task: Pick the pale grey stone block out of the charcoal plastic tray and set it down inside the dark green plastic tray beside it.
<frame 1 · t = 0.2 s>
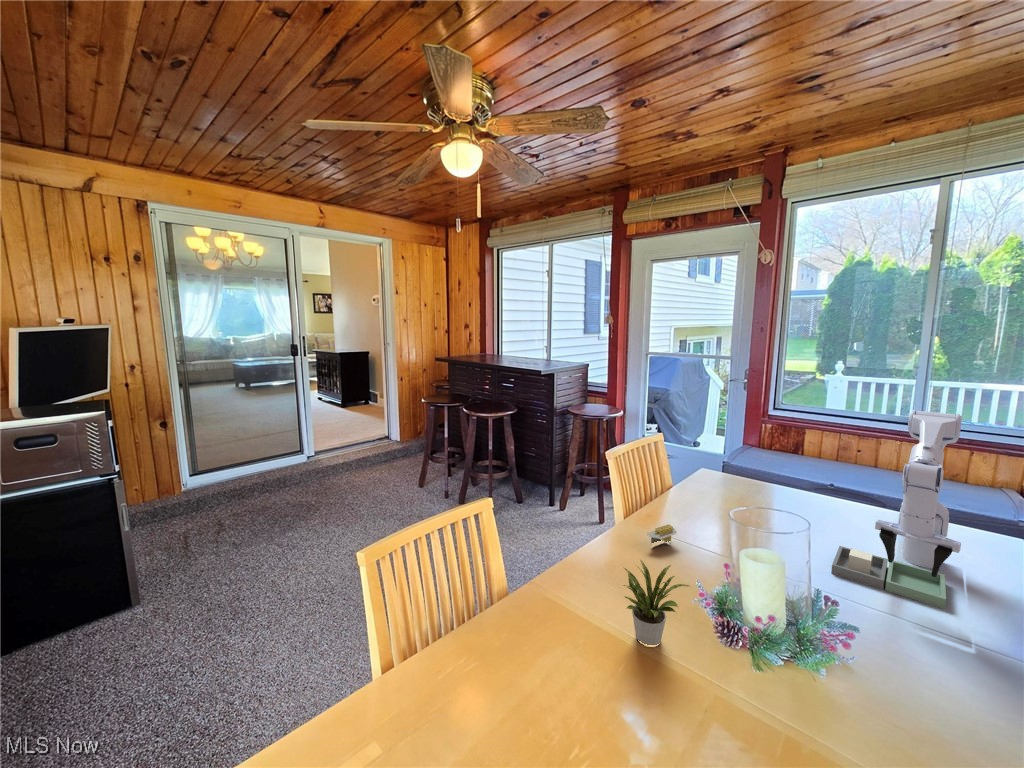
hand: (912, 567, 101), 10 cm above the table, tool pointing down, fingers open, 7 cm apart
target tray: (914, 589, 108), on the table
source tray: (859, 572, 116), on the table
platform: (662, 548, 132), on the table
house plant: (654, 639, 93), on the table
stone block: (859, 570, 116), point 1 cm above the table, touching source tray
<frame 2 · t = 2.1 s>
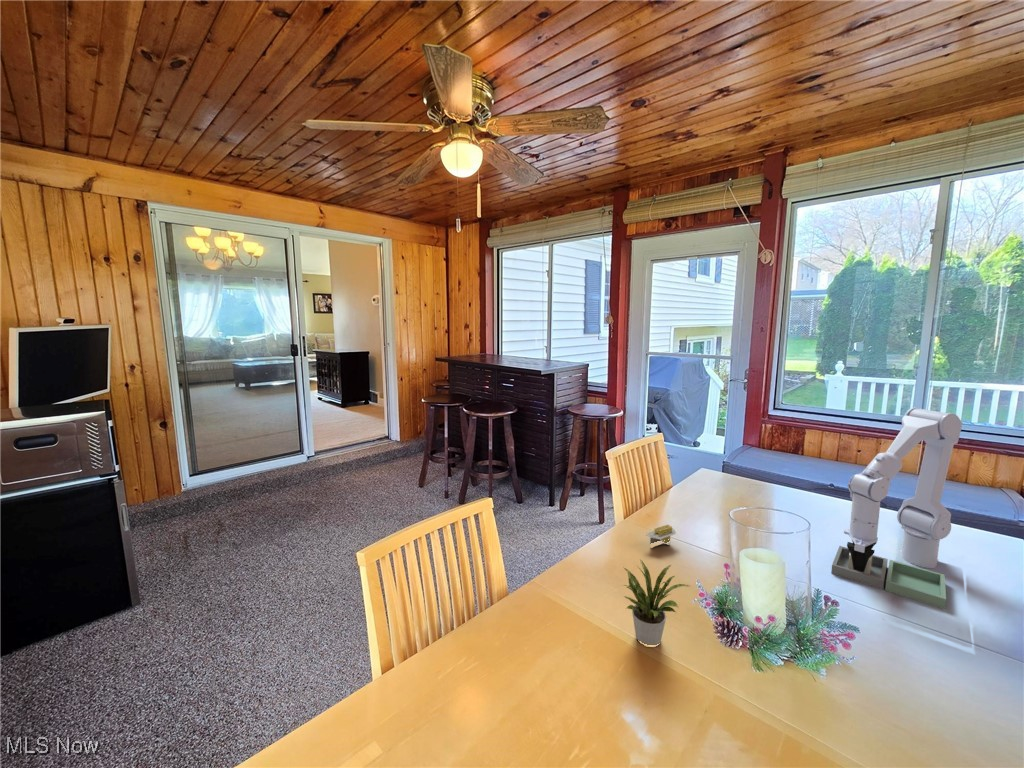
hand: (859, 566, 116), 2 cm above the table, tool pointing down, fingers closed on stone block, 5 cm apart
stone block: (859, 570, 116), point 1 cm above the table, touching gripper, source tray
everything else where it was.
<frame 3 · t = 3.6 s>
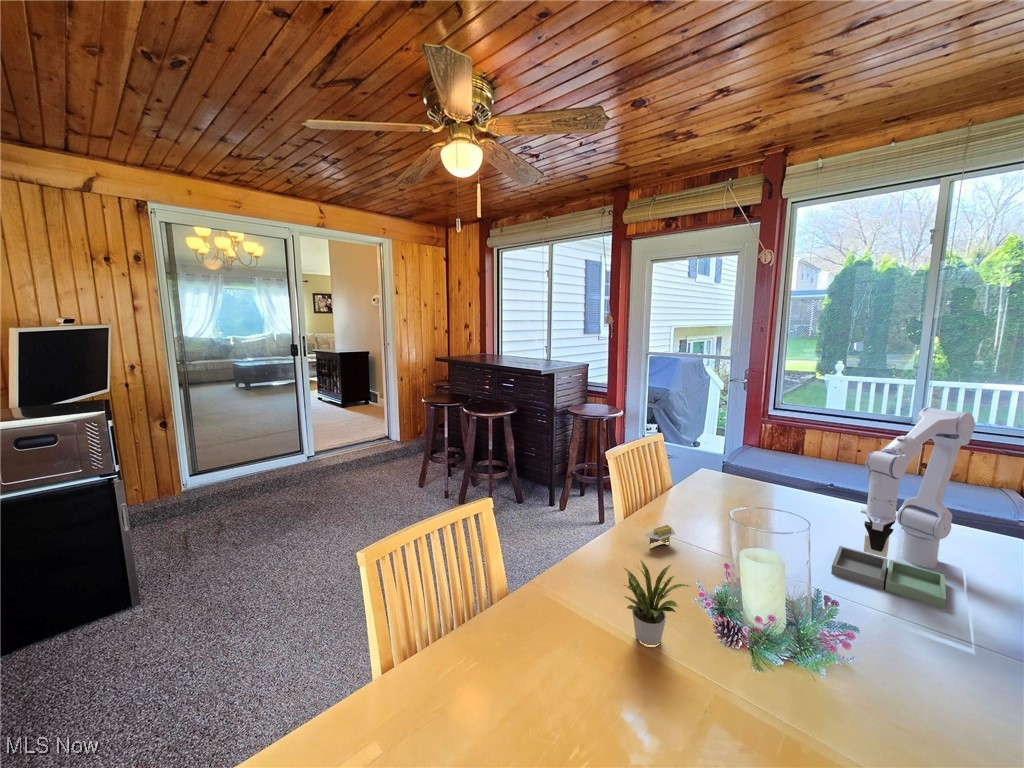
hand: (877, 546, 113), 9 cm above the table, tool pointing down, fingers closed on stone block, 5 cm apart
stone block: (875, 551, 113), point 7 cm above the table, touching gripper
everything else where it was.
when the fingers open (3 cm above the table, at t = 5.6 s): stone block stays where it is, resting on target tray.
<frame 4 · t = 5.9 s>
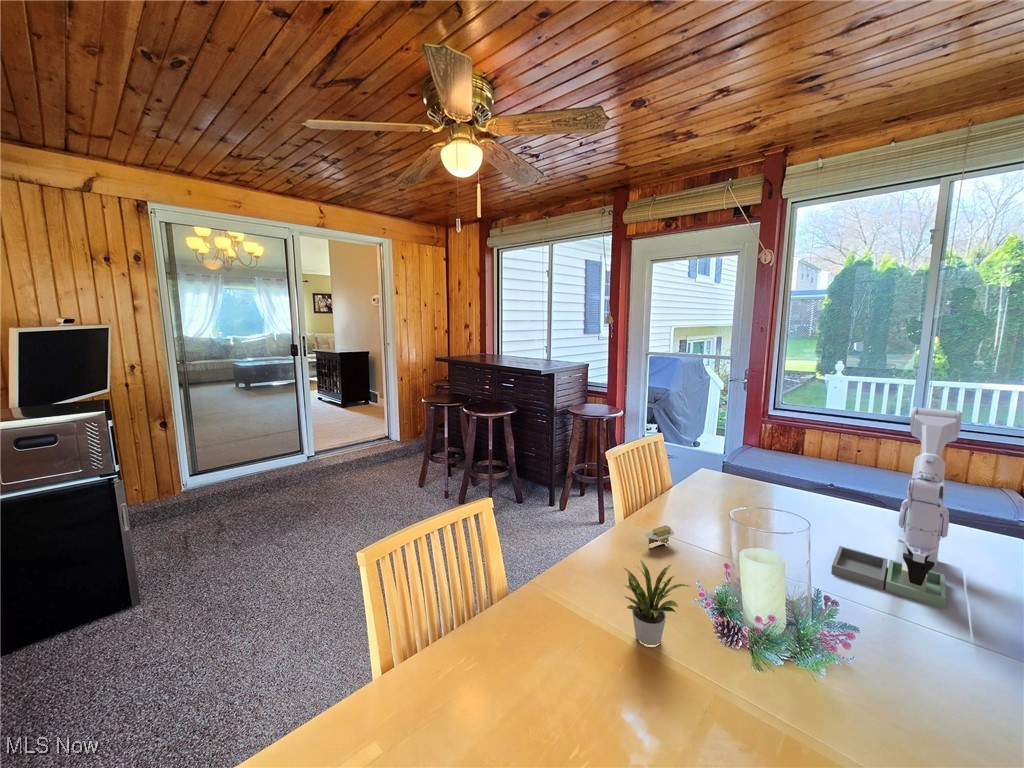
hand: (915, 577, 108), 3 cm above the table, tool pointing down, fingers open, 7 cm apart
stone block: (912, 586, 109), point 1 cm above the table, touching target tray
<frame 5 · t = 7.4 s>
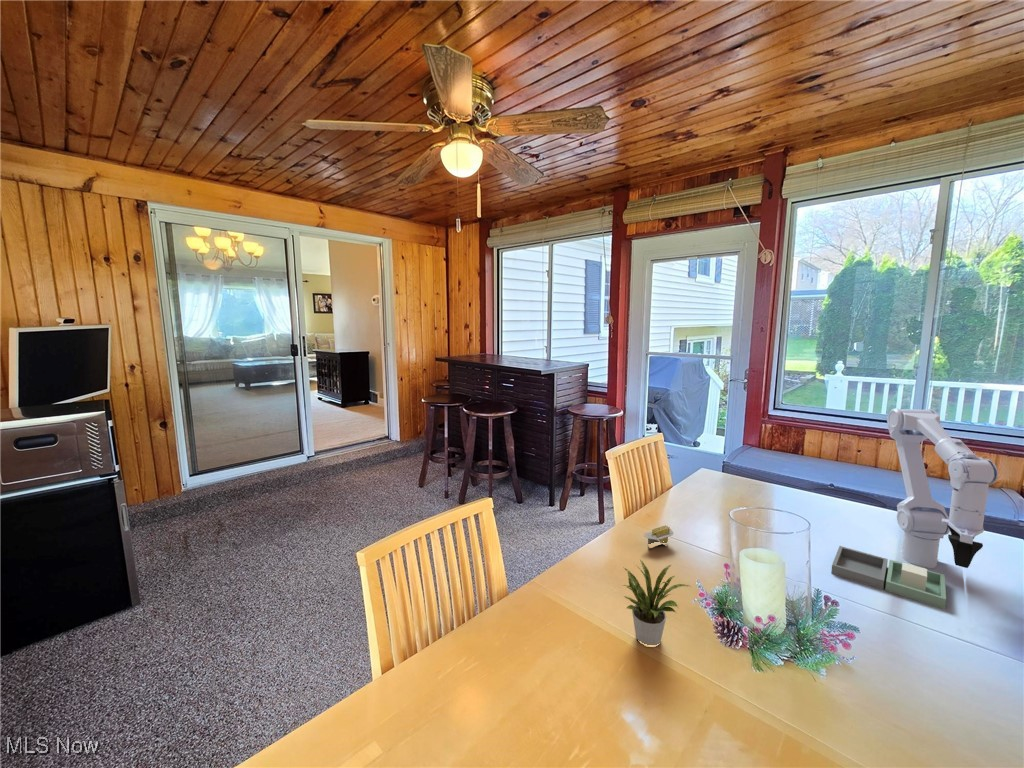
hand: (960, 559, 105), 9 cm above the table, tool pointing down, fingers open, 7 cm apart
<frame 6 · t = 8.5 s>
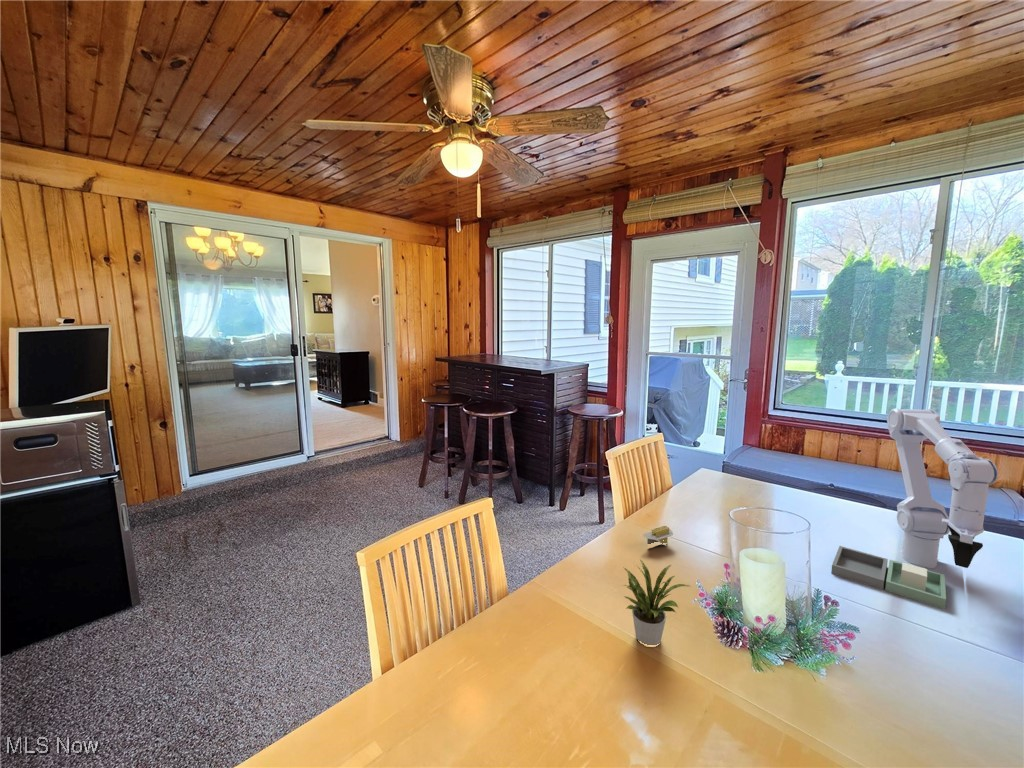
hand: (960, 559, 105), 9 cm above the table, tool pointing down, fingers open, 7 cm apart
at the end: stone block inside the target area on the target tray (0.4 cm from its centre), point 0.8 cm above the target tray's base; the gripper is holding nothing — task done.
